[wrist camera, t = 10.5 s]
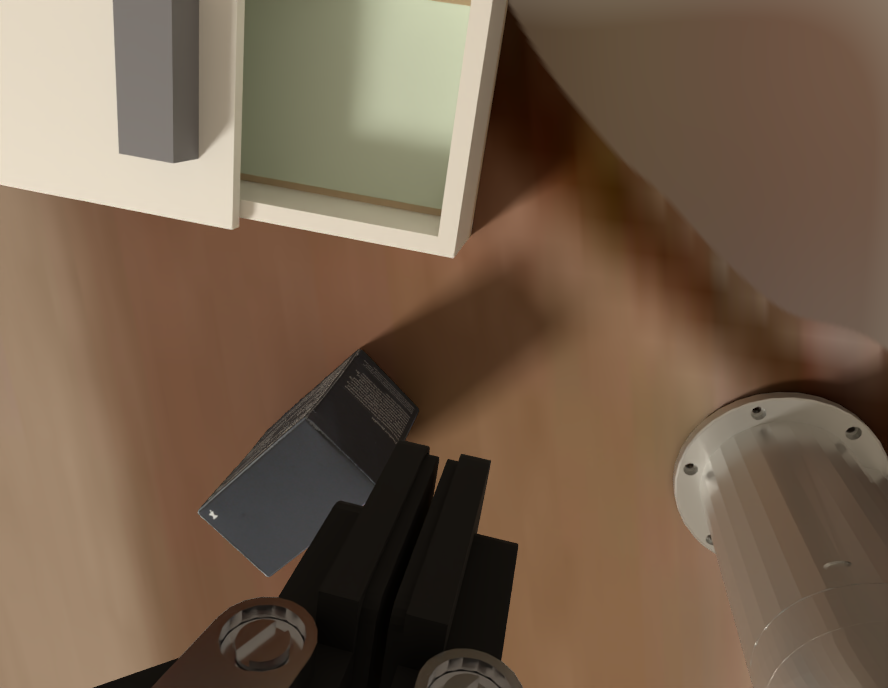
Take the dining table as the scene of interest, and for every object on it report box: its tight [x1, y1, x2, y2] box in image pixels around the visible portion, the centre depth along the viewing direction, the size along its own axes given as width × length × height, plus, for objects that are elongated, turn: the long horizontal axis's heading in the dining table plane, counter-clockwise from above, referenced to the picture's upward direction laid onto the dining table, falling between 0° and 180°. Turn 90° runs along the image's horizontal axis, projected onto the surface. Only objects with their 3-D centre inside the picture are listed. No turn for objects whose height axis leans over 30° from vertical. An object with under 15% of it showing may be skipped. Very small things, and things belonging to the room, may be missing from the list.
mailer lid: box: [0, 0, 245, 230], centre depth 36 cm, size 22×15×6 cm
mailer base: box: [239, 0, 509, 258], centre depth 38 cm, size 20×14×6 cm
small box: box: [198, 349, 419, 577], centre depth 44 cm, size 11×6×10 cm, turn 135°
